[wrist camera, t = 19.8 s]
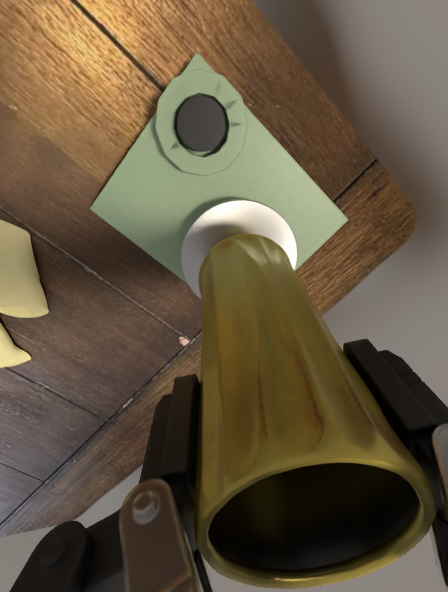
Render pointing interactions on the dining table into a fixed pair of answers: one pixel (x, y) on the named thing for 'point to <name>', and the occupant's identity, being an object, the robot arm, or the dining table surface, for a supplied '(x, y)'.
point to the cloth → (17, 287)
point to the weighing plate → (232, 233)
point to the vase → (291, 437)
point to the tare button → (201, 123)
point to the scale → (209, 176)
